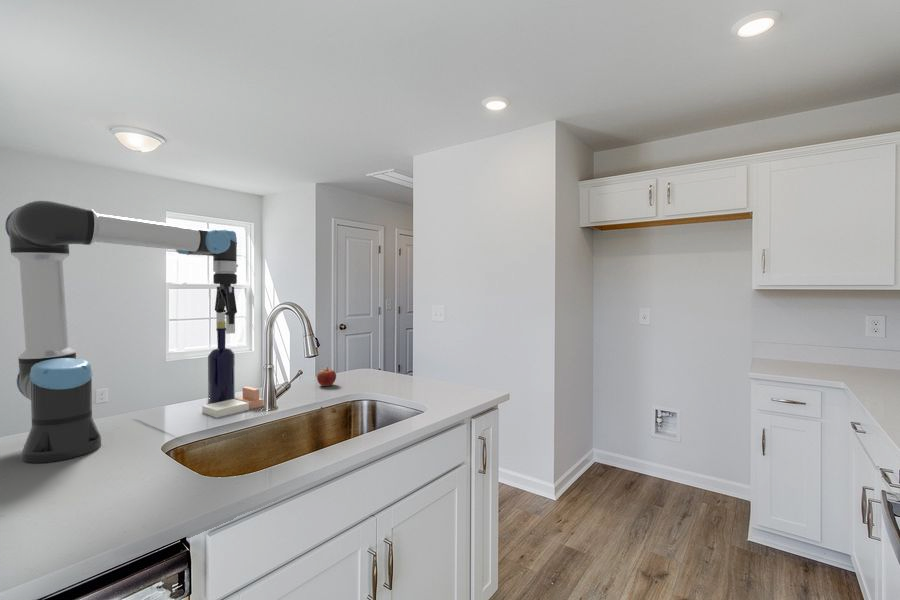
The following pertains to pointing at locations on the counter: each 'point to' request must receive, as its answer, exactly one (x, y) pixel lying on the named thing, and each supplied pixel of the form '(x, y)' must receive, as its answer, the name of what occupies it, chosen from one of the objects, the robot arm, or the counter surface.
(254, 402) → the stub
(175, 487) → the counter surface
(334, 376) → the apple
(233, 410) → the cream rectangular slab
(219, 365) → the bottle
